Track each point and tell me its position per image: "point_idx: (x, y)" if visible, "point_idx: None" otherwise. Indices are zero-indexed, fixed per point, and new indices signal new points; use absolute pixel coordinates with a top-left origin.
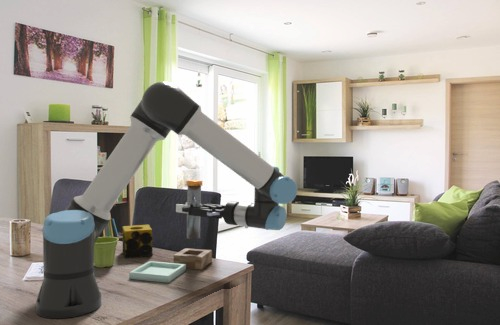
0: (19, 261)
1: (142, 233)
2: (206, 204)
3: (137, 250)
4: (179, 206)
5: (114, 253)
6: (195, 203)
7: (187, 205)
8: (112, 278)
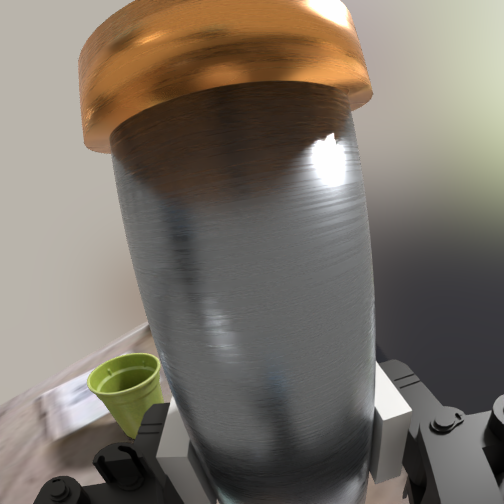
0: (126, 342)
1: None
2: (470, 433)
3: None
4: None
5: (140, 417)
6: (211, 451)
7: (167, 415)
8: None
